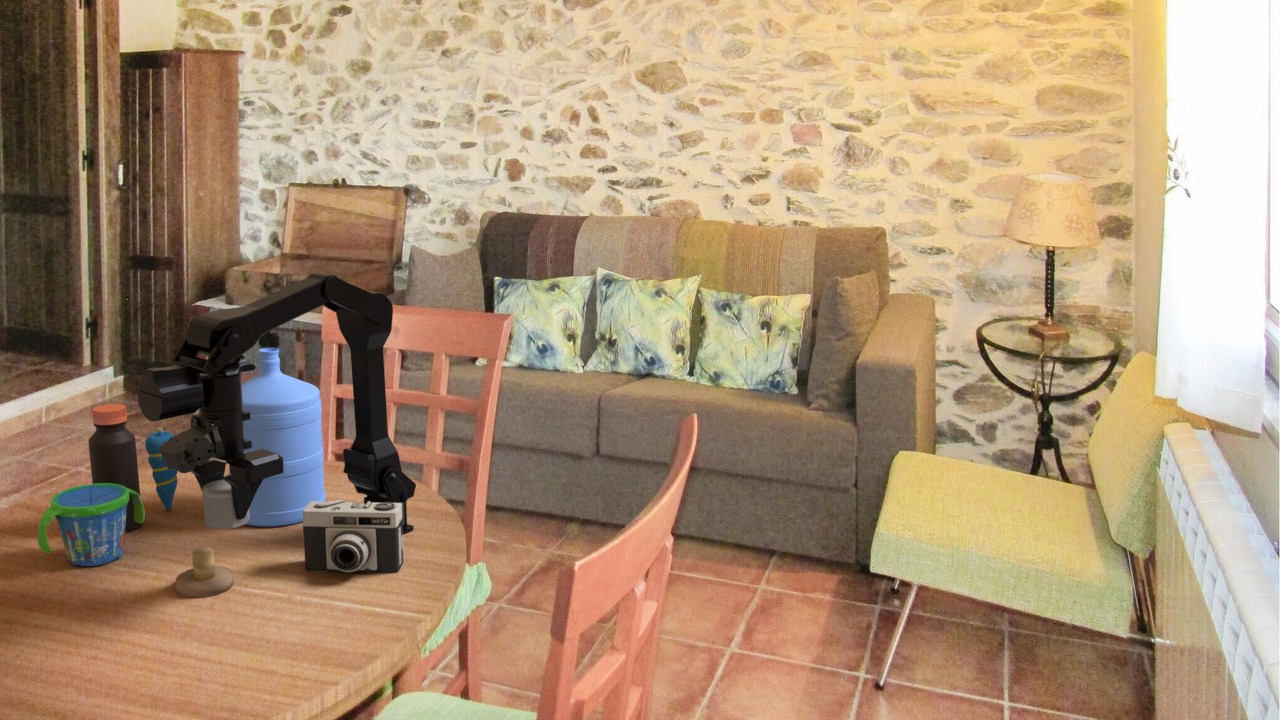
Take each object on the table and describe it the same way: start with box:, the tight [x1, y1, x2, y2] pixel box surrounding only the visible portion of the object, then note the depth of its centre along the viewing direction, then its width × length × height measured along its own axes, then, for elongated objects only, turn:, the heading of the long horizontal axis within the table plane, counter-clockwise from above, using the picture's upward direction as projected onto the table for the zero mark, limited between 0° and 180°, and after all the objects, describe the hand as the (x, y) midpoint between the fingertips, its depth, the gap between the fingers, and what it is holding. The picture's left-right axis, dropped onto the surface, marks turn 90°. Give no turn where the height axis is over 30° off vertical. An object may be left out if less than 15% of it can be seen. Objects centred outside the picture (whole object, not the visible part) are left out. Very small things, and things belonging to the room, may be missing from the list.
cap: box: [201, 480, 250, 530], centre depth 155 cm, size 6×6×5 cm
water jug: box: [227, 347, 327, 528], centre depth 185 cm, size 16×16×28 cm
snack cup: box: [37, 483, 146, 567], centre depth 166 cm, size 16×10×10 cm
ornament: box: [144, 424, 179, 511], centre depth 186 cm, size 5×5×15 cm
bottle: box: [87, 403, 143, 533], centre depth 177 cm, size 7×7×20 cm
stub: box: [175, 547, 234, 599], centre depth 158 cm, size 8×8×5 cm
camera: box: [302, 499, 404, 574], centre depth 164 cm, size 14×8×10 cm, turn 90°
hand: (227, 514), depth 155 cm, fingers closed on cap, 6 cm apart
